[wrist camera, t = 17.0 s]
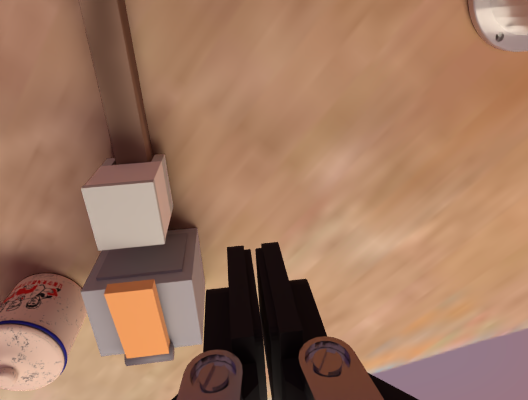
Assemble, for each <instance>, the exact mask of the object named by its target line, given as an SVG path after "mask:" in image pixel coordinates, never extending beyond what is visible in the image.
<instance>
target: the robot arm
mask: <svg viewBox="0 0 528 400" xmlns="http://www.w3.org/2000/svg"><path fill="white" fill-rule="evenodd" d="M468 6H469V13H470V17H471V20H472V23H473V26H474V28H475V29H476V31H477V33H478V34H479V36H480V37H481V38H482V39H483V40H484V41H485V42H486V43H488V44H489V45H491V46H493V47H494V48H497V49H500V50H504V51H512V52H522V51H528V0H468ZM227 258H228V282H229V287H228V288H219V289H210V290H206V303H205V326H204V348H203V353H201V354H199V355H198V356H196V357H195V358H194V359H192V361H191V362H190V363H189V364H188V365H187V367H186V369H185V371H184V374H183V378H182V381H181V385H180V389H179V392H178V394H177V395H176V396H175V397H174V398H173V399H172V400H267V387H266V373H265V358H264V347H265V354H266V361H267V368H268V375H269V381H270V388H271V395H272V400H418V399H416V398H414V397H413V396H410V395H409V394H407V393H405V392H403V391H401V390H399V389H397V388H395V387H393V386H391V385H390V384H388V383H386V382H384V381H382V380H380V379H379V378H376V377H375V376H373V375H371V374H369V373H367V371H366V370H365V368H364V366H363V365H362V363H361V362H360V360H359V358H358V357H357V355H356V354H355V352H354V351H353V349H352V348H351V347H350V346H349V345H348V344H346V343H345V342H344V341H342V340H340V339H337V338H334V337H327V334H326V332H325V329H324V326H323V323H322V320H321V317H320V315H319V312H318V309H317V306H316V303H315V300H314V298H313V295H312V292H311V289H310V286H309V283H308V281H307V279H300V280H291V281H289V279H288V276H287V272H286V269H285V265H284V262H283V258H282V254H281V251H280V247H279V244H278V242H273V243H264V244H261V248H258V249H256V264H257V278H258V293H259V305H258V298H257V291H256V284H255V277H254V270H253V264H252V257H251V250H250V249H248V250H244V246H234V247H227ZM259 307H260V312H259ZM263 340H264V344H263Z"/></svg>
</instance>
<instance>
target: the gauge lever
mask: <svg viewBox="0 0 528 400" xmlns="http://www.w3.org/2000/svg"><path fill="white" fill-rule="evenodd" d="M104 296H105V299H106V301H107V304H108V307H109V310H110V313H111V315H112V318H113V321H114V324H115V327H116V330H117V332H118V335H119V338H120V341H121V344H122V347H123V349H124V352H125V364H126V366H130V365H138V364H146V363H154V362H162V361H170V360H174V345H173V343H170V339H169V336H168V332H167V328H166V324H165V320H164V316H163V312H162V308H161V304H160V300H159V296H158V292H157V288H156V284H155V280H154V279H151V280H141V281H132V282H123V283H113V284H107V287H106V290H105V293H104Z"/></svg>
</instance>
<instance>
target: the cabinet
mask: <svg viewBox="0 0 528 400" xmlns="http://www.w3.org/2000/svg"><path fill="white" fill-rule="evenodd" d="M165 240H166V242H165V244H161V245H151V246H141V247H131V248H121V249H111V250H102V251H101V253H100V255H99V257H98V259H97V261H96V263H95V265H94V267H93V269H92V271H91V273H90V275H89V277H88V278H87V280H86V282H85V284H84V286H83V288H82V290H81V295H82V298H83V301H84V304H85V307H86V311H87V314H88V317H89V320H90V323H91V326H92V329H93V332H94V336H95V339H96V342H97V345H98V348H99V351H100V354H101V356H108V355H117V354H125V352H124V349H123V347H122V344H121V341H120V338H119V335H118V332H117V330H116V327H115V324H114V321H113V318H112V315H111V313H110V310H109V307H108V304H107V301H106V299H105V296H104V293H105V290H106V287H107V284H113V283H123V282H132V281H141V280H151V279H154V280H155V284H156V288H157V292H158V296H159V300H160V304H161V308H162V312H163V316H164V320H165V324H166V328H167V332H168V336H169V339H170V343H173V345H174V347H182V346H190V345H199V344H202V338H203V318H204V297H205V279H204V272H203V265H202V258H201V251H200V244H199V237H198V230H197V228H189V229H179V230H169V231H167V234H166V239H165Z"/></svg>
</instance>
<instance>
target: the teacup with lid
mask: <svg viewBox="0 0 528 400" xmlns="http://www.w3.org/2000/svg"><path fill="white" fill-rule="evenodd" d="M81 290H82V289H81V287H80V286H78V285H77V284H76V283H75V282H73V281H72V280H70V279H68V278H66V277H63V276H60V275H56V274H48V273H44V274H36V275H32V276H29V277H27V278H25V279H23V280H22V281H20V282H19V283H18V284H17V285H16V287H15V288H14V289H13V290H12V292H11V293H10V294H9V296H8V297H7V298H6V299H5V301H4V302H3V303H2V305H1V306H0V388H2V389H6V390H12V391H30V390H35V389H39V388H42V387H44V386H46V385H48V384H50V383H51V382H53V381H54V380H55V379H56V378H57V377H58V376H59V375H60V374H61V373H62V372H63V370H64V369H65V366H66V363H67V356H68V354H69V352H70V350H71V347H72V345H73V343H74V341H75V339H76V336H77V334H78V332H79V330H80V328H81V325H82V323H83V321H84V319H85V317H86V314H87V311H86V307H85V304H84V301H83V298H82V295H81Z"/></svg>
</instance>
